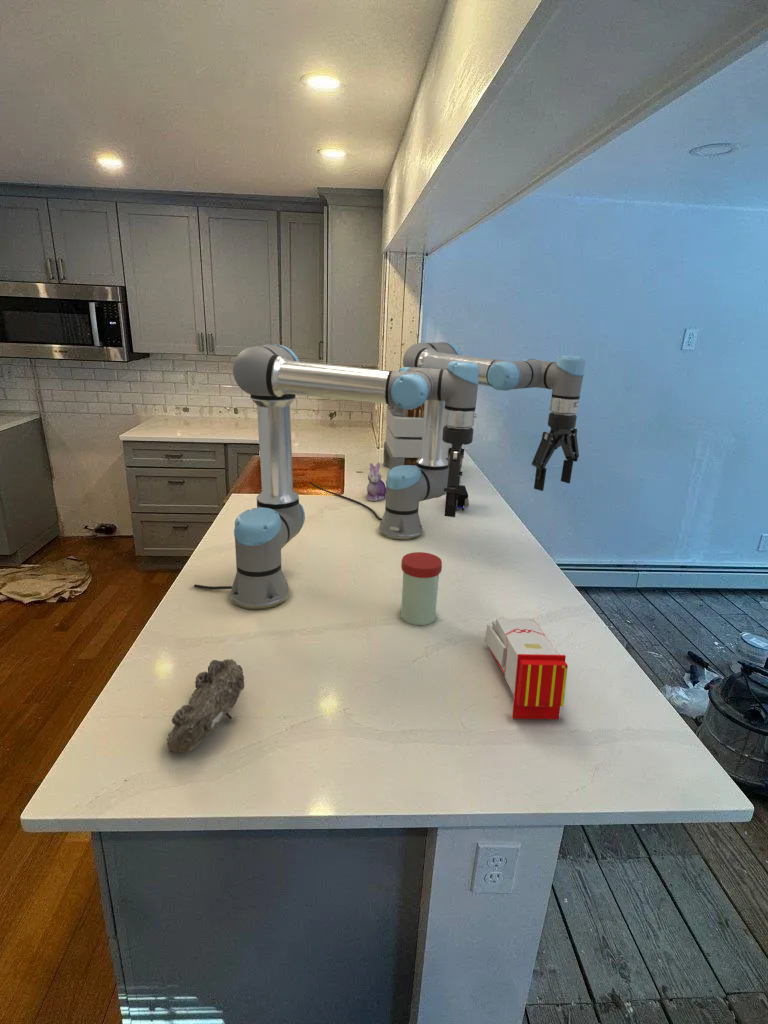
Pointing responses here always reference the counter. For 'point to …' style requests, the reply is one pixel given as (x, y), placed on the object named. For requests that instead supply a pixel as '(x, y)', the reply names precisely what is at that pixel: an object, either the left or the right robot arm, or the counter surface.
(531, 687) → the toy
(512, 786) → the counter surface
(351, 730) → the counter surface
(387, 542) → the counter surface
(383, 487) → the figurine
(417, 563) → the lid
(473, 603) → the counter surface
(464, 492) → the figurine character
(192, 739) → the fossil
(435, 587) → the jar
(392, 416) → the grey slatted crate
